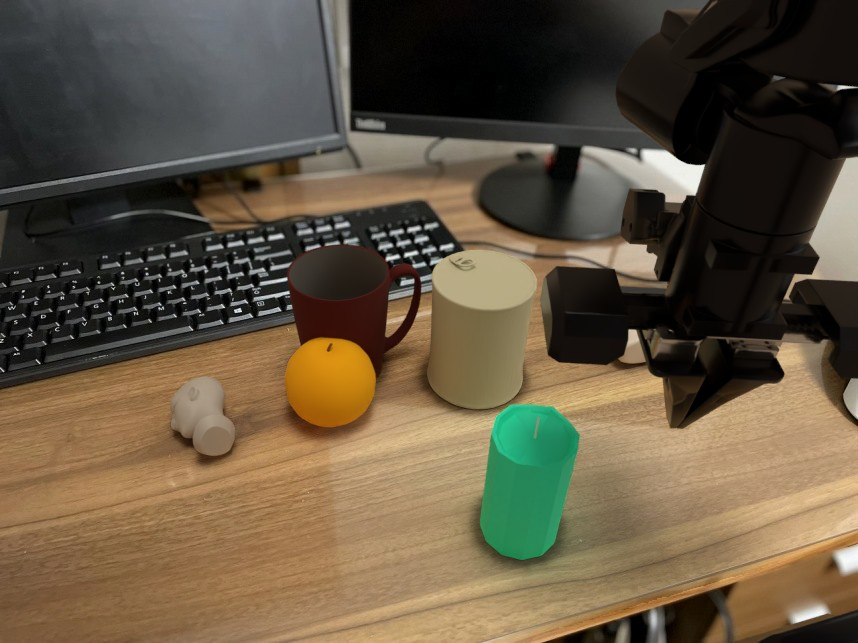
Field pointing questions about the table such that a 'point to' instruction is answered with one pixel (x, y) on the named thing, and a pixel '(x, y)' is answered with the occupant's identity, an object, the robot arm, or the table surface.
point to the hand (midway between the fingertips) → (674, 423)
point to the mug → (348, 298)
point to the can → (479, 327)
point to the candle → (527, 479)
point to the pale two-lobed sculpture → (203, 416)
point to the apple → (330, 381)
